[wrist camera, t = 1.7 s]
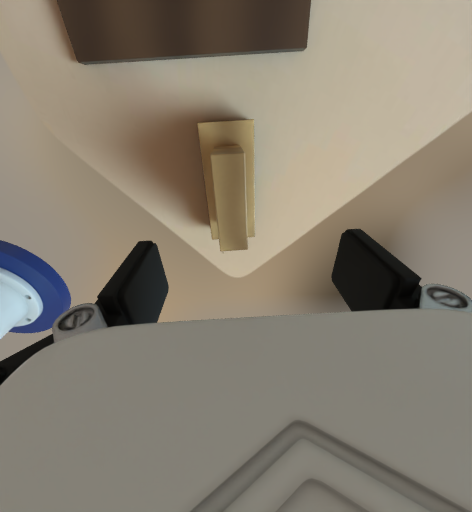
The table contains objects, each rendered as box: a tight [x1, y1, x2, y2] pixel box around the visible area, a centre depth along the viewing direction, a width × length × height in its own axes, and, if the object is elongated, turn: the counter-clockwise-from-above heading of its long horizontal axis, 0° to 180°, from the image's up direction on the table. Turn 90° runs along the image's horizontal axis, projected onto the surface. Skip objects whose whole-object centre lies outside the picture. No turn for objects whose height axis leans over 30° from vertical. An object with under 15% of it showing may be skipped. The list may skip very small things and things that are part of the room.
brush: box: [197, 119, 255, 251], centre depth 21 cm, size 5×12×10 cm, turn 3°
